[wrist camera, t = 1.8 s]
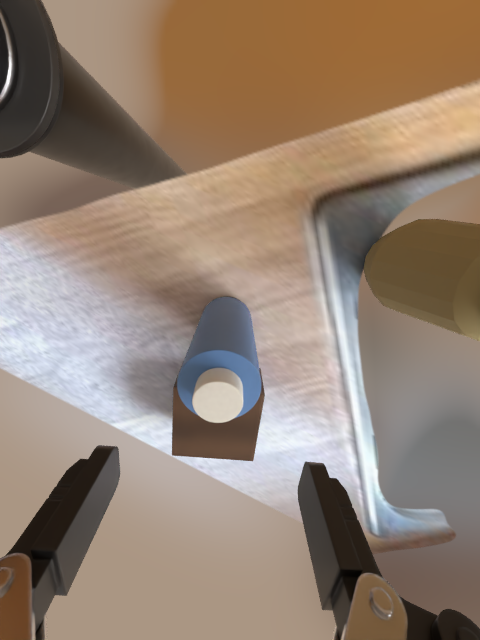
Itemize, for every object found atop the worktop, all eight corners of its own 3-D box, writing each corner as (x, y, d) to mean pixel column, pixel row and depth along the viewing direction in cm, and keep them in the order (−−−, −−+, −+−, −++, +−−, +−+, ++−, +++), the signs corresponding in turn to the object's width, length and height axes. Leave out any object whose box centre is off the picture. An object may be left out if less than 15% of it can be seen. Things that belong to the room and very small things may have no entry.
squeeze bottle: (416, 200, 23) (890, 138, 6) (444, 272, 26) (839, 365, 9) (337, 251, 25) (552, 308, 8) (370, 314, 27) (588, 461, 10)
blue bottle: (203, 293, 26) (171, 358, 14) (254, 299, 26) (270, 367, 14) (200, 340, 28) (170, 435, 15) (248, 345, 28) (257, 441, 16)
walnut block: (183, 360, 29) (173, 387, 24) (260, 367, 29) (264, 394, 25) (181, 422, 32) (171, 455, 27) (250, 427, 33) (253, 461, 28)
